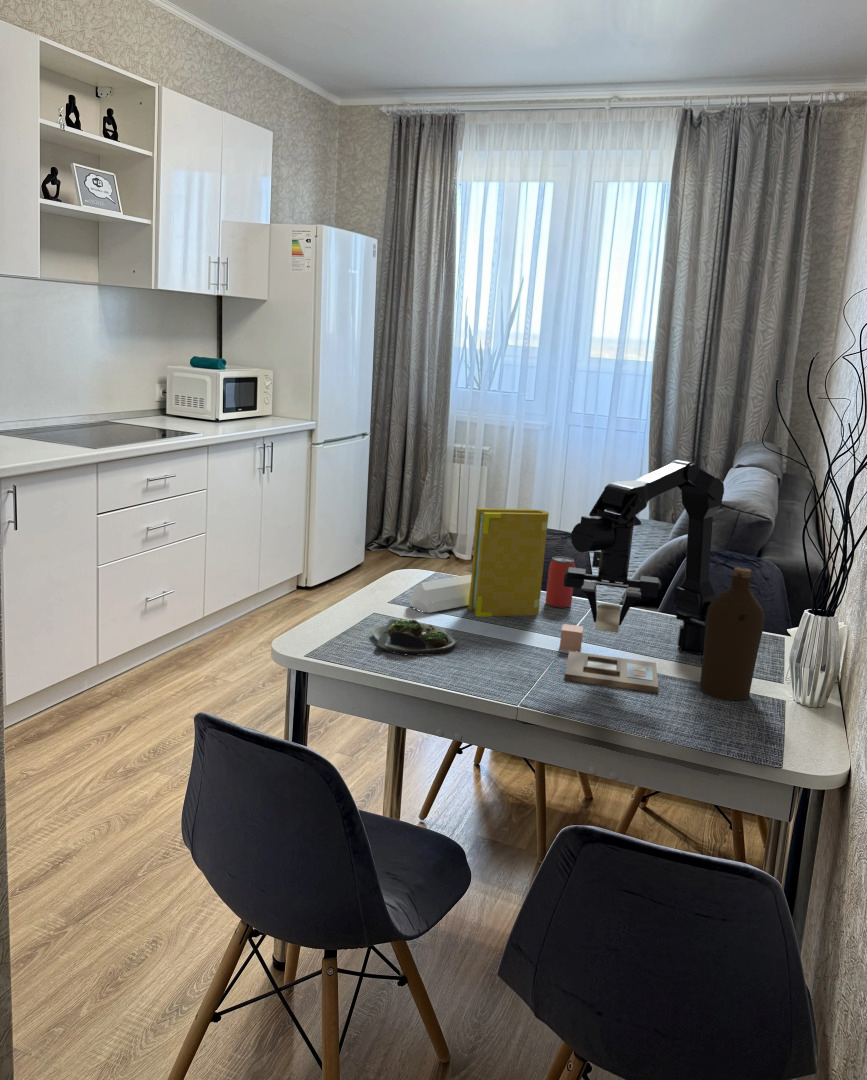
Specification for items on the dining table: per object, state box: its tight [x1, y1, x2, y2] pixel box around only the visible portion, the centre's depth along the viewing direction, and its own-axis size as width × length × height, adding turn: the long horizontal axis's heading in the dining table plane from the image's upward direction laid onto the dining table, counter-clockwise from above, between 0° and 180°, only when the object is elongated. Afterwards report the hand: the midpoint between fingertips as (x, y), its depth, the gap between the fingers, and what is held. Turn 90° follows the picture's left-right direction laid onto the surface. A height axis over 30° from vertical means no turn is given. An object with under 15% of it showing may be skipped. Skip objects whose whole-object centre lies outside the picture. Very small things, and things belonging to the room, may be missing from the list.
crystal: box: [409, 573, 472, 614], centre depth 219 cm, size 7×7×24 cm
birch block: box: [594, 601, 622, 634], centre depth 179 cm, size 4×4×4 cm
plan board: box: [563, 651, 659, 694], centre depth 180 cm, size 18×14×2 cm
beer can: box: [545, 556, 576, 609], centre depth 225 cm, size 7×7×12 cm
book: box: [467, 507, 550, 618], centre depth 214 cm, size 17×7×25 cm, turn 105°
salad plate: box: [371, 618, 457, 656], centre depth 192 cm, size 19×18×5 cm
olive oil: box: [699, 566, 765, 701], centre depth 173 cm, size 11×11×25 cm
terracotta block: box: [559, 623, 584, 652], centre depth 194 cm, size 4×4×4 cm
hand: (607, 623), depth 179 cm, fingers closed on birch block, 4 cm apart
